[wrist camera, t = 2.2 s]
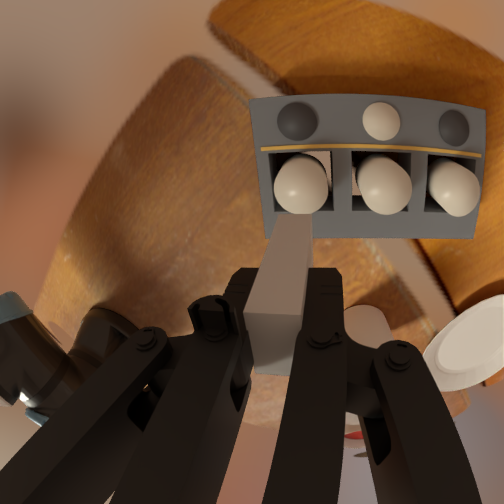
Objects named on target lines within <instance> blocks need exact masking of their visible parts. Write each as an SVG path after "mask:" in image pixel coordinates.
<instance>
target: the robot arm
mask: <svg viewBox="0 0 504 504" xmlns="http://www.w3.org/2000/svg"><path fill="white" fill-rule="evenodd" d="M342 286H343V285H342V276H341V274H340V273H339V272H338V270H337V269H336V268H313V236H312V214H279V215H278V218H277V220H276V223H275V226H274V229H273V232H272V234H271V237H270V240H269V243H268V245H267V248H266V251H265V254H264V257H263V259H262V262H261V265H260V268H240V269H239V270H238V271H237V272H236V273H234V274H233V275H232V277H231V279H230V281H229V283H228V286H227V287H226V289H225V293H224V294H223V296H221V295H209V296H206V297H202V298H199V299H198V300H196V301H194V302H193V303H192V304H191V305H190V306H189V307H188V308H187V309H188V312H189V315H190V318H191V321H192V324H193V327H194V330H195V331H194V333H193V334H190V335H185V336H177V337H169V338H168V337H167V335H166V332H165V331H164V330H162V329H161V328H159V327H145V328H143V329H140V330H138V329H137V328H136V327H135V326H134V325H133V324H131V323H130V322H129V321H127V320H126V319H125V318H123V317H121V316H120V315H118V314H116V313H114V312H112V311H109V310H107V309H102V308H94V309H91V310H90V311H89V312H88V313H87V314H86V315H85V317H84V318H83V319H82V321H81V325H80V329H79V331H78V333H77V336H76V339H75V341H74V344H73V347H72V348H71V350H70V351H69V353H68V354H66V353H65V352H64V350H63V349H62V348H61V347H60V346H59V345H58V344H57V343H56V341H55V340H54V339H53V338H52V337H51V336H50V334H49V333H48V332H47V331H46V330H45V328H44V327H43V326H42V325H41V323H40V322H39V321H38V319H37V318H36V317H35V315H34V314H33V313H34V312H33V310H30V309H29V307H28V306H27V305H26V304H25V302H24V301H23V300H22V298H21V297H20V296H19V295H18V294H17V293H15V292H13V291H9V292H6V293H4V294H2V295H0V406H8V407H11V406H12V405H14V403H15V402H16V400H17V399H20V400H21V401H22V402H23V403H24V404H25V405H27V407H28V408H26V412H25V415H26V416H27V417H28V418H30V419H31V420H32V421H34V422H35V423H36V424H38V425H39V426H41V427H40V429H39V430H38V431H37V432H36V433H35V434H34V435H33V436H32V437H31V438H30V439H29V440H28V441H27V442H26V444H25V445H24V446H23V447H22V448H21V449H20V450H19V451H18V452H17V453H16V454H15V455H14V456H13V457H12V459H11V460H10V461H9V462H8V463H7V464H6V465H5V466H4V467H3V469H2V470H1V471H0V504H104V503H105V502H106V501H107V499H108V498H109V497H110V496H111V495H112V493H113V492H114V491H115V492H114V494H113V496H112V499H111V501H110V503H109V504H216V502H217V498H218V496H219V492H220V490H221V486H222V483H223V480H224V477H225V474H226V471H227V468H228V464H229V461H230V458H231V454H232V452H233V448H234V445H235V442H236V438H237V435H238V432H239V428H240V424H241V422H242V418H243V415H244V411H245V408H246V404H247V401H248V397H249V394H250V390H251V377H250V374H251V371H252V367H253V365H254V370H255V373H259V374H269V375H282V376H290V378H289V383H288V388H287V394H286V399H285V404H284V409H283V414H282V419H281V424H280V429H279V434H278V438H277V443H276V447H275V452H274V456H273V460H272V465H271V469H270V473H269V477H268V481H267V485H266V489H265V493H264V497H263V501H262V504H337V502H338V495H339V487H340V478H341V470H342V460H343V449H344V436H345V420H346V412H349V413H352V414H355V415H357V416H358V419H359V423H360V427H361V431H362V435H363V439H364V443H365V447H366V451H367V455H368V460H369V464H370V468H371V473H372V477H373V482H374V486H375V491H376V496H377V501H378V504H482V502H481V498H480V495H479V492H478V488H477V485H476V481H475V478H474V475H473V472H472V470H471V467H470V463H469V460H468V458H467V455H466V452H465V449H464V447H463V444H462V442H461V439H460V436H459V434H458V431H457V429H456V427H455V424H454V422H453V419H452V417H451V415H450V412H449V410H448V408H447V406H446V403H445V401H444V399H443V397H442V395H441V393H440V390H439V388H438V386H437V384H436V382H435V380H434V378H433V376H432V374H431V372H430V370H429V368H428V366H427V364H426V362H425V360H424V358H423V356H422V354H421V353H420V351H419V350H418V349H417V348H416V347H415V346H414V345H412V344H410V343H409V342H406V341H401V340H391V341H388V342H385V343H383V344H381V345H380V346H379V347H378V348H377V349H376V348H372V347H368V346H364V345H362V344H359V343H357V342H355V341H354V340H352V339H351V338H350V337H349V336H348V334H347V332H346V331H345V326H344V304H343V288H342ZM147 384H148V386H147V387H146V388H144V387H145V386H146V385H147ZM143 388H144V389H143Z"/></svg>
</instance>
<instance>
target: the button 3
mask: <svg viewBox="0 0 504 504" xmlns="http://www.w3.org/2000/svg"><path fill="white" fill-rule="evenodd" d="M426 190H427V191H428V193H429V194H430V195H431V196H432V197H433V198H434V199H435V200H436V201H437V202H438V203H439V204H440V205H441V206H442V207H443V208H444V210H445V211H446V212H448V213H449V214H450V215H452V216H456V217H461V216H465V215H467V214H469V213H470V212H471V211H472V210H473V209H474V208H475V206H476V205H477V203H478V200H479V196H480V185H479V182H478V179H477V177H476V176H475V175H474V174H473V173H472V172H471V171H469V170H468V169H466V168H464V167H463V166H461V165H459V164H457V163H456V162H454V161H452V160H450V159H448V158H439V159H436V160H434V161H433V162H432V163H431V164H430V165H429V166H428V168H427V182H426Z"/></svg>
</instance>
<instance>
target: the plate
mask: <svg viewBox="0 0 504 504" xmlns="http://www.w3.org/2000/svg"><path fill="white" fill-rule="evenodd" d="M423 358H424V360H425V362H426V364H427V366H428V368H429V370H430V372H431V374H432V376H433V378H434V380H435V382H436V384H437V386H438V388H439V390H440V391H455V390H460V389H465V388H467V387H470V386H473V385H475V384H478V383H480V382H482V381H484V380H485V379H487V378H489V377H490V376H492V375H493V374H495V373H496V372H498V371H499V370H500V369H502V368H503V367H504V294H500V295H496V296H493V297H491V298H488V299H485V300H483V301H481V302H479V303H477V304H475V305H474V306H472V307H470V308H468V309H467V310H465V311H464V312H462V313H461V314H460V315H458V316H457V317H456V318H454V319H453V320H452V321H450V322H449V323H448V324H447V325H446V326H445V327H444V328H443V329H442V330H441V331H440V332H439V333H438V334H437V335H436V336H435V337H434V339H433V340H432V341H431V343H430V344H429V345H428V346H427V348H426V350H425V352H424V354H423Z"/></svg>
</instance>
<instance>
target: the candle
mask: <svg viewBox="0 0 504 504" xmlns="http://www.w3.org/2000/svg"><path fill="white" fill-rule="evenodd" d="M344 447H346V448H366V447H365V443H364V439H363V435H362V431H361V427H360V425H348V424H345V436H344Z"/></svg>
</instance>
